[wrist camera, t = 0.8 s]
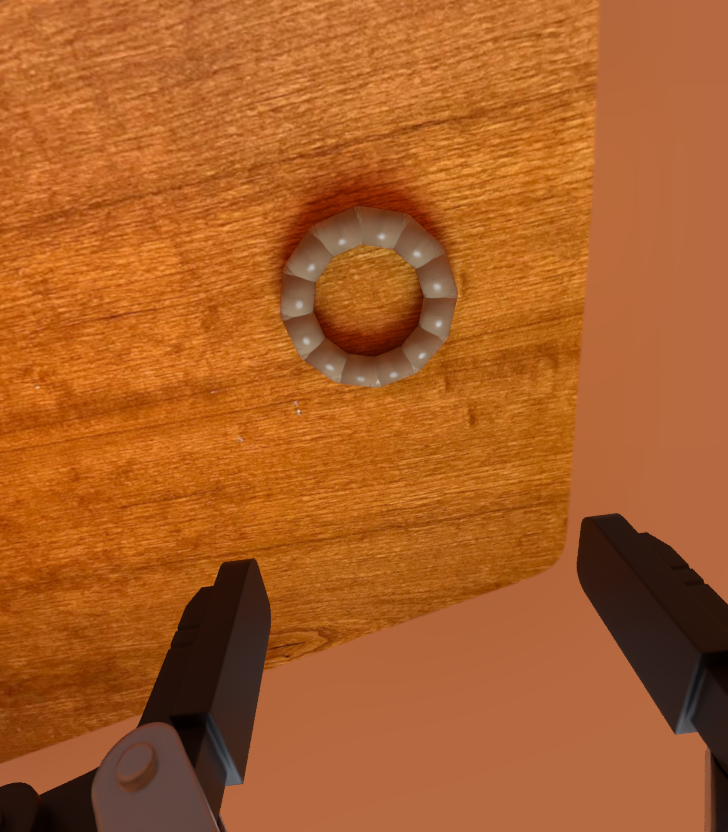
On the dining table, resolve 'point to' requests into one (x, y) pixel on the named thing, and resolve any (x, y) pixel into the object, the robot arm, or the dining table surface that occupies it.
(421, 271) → the beige segmented ring
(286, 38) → the dining table surface
